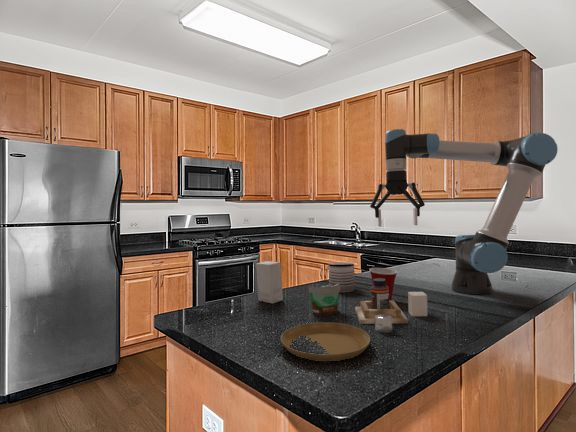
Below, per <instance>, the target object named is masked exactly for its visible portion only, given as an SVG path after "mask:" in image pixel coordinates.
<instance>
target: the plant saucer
mask: <svg viewBox="0 0 576 432" xmlns="http://www.w3.org/2000/svg"><path fill="white" fill-rule="evenodd" d="M302 335H303V336H306V338H305V339H306V340H308V339H309V338H311V341H312V342H315V341H317V343H320V344H318V345H319V346H320V345H321V347H323V349H326V350H324V351H327V352H325V353H329V354H313V353H306V352H301V351H298V350H294V349H292V348H290V347H289V345H292V344H293V343H292V344H290V343H291V342H292V340H293V342H294V341H295V340H297V339H296V338H297V337H299V336H302ZM308 337H309V338H308ZM280 341H281V342H280V343H282V345H283V347H284V349H286V350H287V351H288V352H289V353H291V354H292V355H293V354H294V355H293V356H295V355H296V356H295V357H297V356H298V357H297V358H299V357H301V358H300V359H302V358H305V359H310V360H317V361H338V362H340V361H339V360H344V361H346V360H345V359H348V360H350V358H351V359H353V358H355V356H356V357H358V356H359V355H361V354H362V353H363V352H364V351H365V350H366V349H367V348H368V346H369V344H370V342H371V337H370V334H368V332H367V331H365V330H363V329H362V328H359V327H356V326H354V325H350V324H345V323H340V322H309V323H303V324H299V325H295V326H292V327H290V328H288V329H287V330H284V332H282V333H281V335H280ZM309 341H310V340H309ZM295 343H296V342H295ZM293 345H294V344H293ZM305 359H304V360H305Z"/></svg>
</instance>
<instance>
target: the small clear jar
mask: <svg viewBox="0 0 576 432" xmlns="http://www.w3.org/2000/svg"><path fill="white" fill-rule="evenodd" d="M374 325H375V326H374V327H375V328H374V329H375V331H376V332H379V333H384V334H386V333H392V331H393V323H392V316H390V315H385V314H380V315H376V316H375V324H374Z"/></svg>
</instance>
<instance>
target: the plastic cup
mask: <svg viewBox="0 0 576 432" xmlns="http://www.w3.org/2000/svg"><path fill="white" fill-rule="evenodd" d="M369 272H370V276H371V281H372V285H373V284H374V283H373V280H374V279H376V278H382V279H385V280H386V283H385V284H386V285H387V286H388V287H389V301H392V299H393V292H394V287H395V280H396V277H397V274H398V273H399V272H398V270H395V269H393V268H385V267H371V268H369Z"/></svg>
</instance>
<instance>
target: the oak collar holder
mask: <svg viewBox="0 0 576 432" xmlns="http://www.w3.org/2000/svg"><path fill="white" fill-rule="evenodd" d="M389 308H390V309H371V300H360V306H355V307H354V309H355V310H354V311H355V313H356V315H357V319H358V321H359V324H360V325H370V324H372V325H373V324H374V325H375V316H376V315H380V314H385V315H390V316H392V324H409V318H407V316H406V314H404V312H403V311H402V309H401V308H400V307H399V306H398V304H397V303H396V301H395V300H394V299H393V300H392V299H391V301H389Z"/></svg>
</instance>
